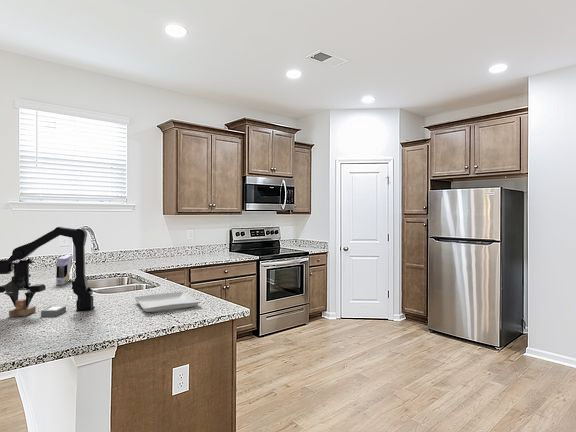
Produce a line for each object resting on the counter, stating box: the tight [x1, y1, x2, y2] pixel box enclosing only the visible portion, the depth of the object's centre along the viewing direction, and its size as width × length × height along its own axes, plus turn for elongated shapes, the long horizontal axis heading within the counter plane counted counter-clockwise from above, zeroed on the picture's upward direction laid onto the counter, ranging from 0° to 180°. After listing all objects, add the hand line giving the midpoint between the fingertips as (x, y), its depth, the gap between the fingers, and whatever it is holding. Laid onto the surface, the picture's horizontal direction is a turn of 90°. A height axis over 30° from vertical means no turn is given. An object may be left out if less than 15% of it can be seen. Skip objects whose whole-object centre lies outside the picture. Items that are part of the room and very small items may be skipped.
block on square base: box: [8, 298, 37, 317], centre depth 172 cm, size 7×8×6 cm
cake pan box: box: [55, 254, 74, 286], centre depth 248 cm, size 19×5×18 cm, turn 14°
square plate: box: [133, 291, 200, 313], centre depth 190 cm, size 27×27×4 cm
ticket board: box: [40, 305, 67, 317], centre depth 173 cm, size 7×8×3 cm
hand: (21, 306), depth 172 cm, fingers open, 5 cm apart
